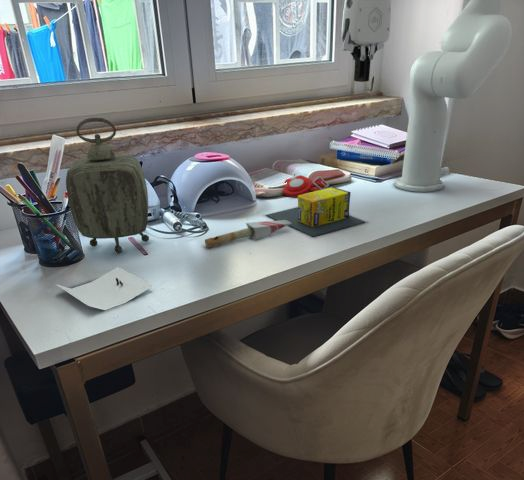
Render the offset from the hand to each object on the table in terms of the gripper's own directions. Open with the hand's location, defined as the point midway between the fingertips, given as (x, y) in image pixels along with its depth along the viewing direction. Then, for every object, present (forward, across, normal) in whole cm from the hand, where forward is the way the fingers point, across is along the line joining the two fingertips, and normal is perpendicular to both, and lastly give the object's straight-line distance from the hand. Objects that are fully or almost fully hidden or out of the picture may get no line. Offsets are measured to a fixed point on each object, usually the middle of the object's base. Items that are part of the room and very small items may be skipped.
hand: (361, 81), depth 111 cm
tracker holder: (+27, -5, +14) cm, 31 cm away
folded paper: (+27, -68, -12) cm, 74 cm away
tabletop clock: (+27, -59, +6) cm, 65 cm away
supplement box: (+24, -9, -6) cm, 26 cm away
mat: (+27, -16, -4) cm, 31 cm away
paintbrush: (+27, -34, -5) cm, 44 cm away
